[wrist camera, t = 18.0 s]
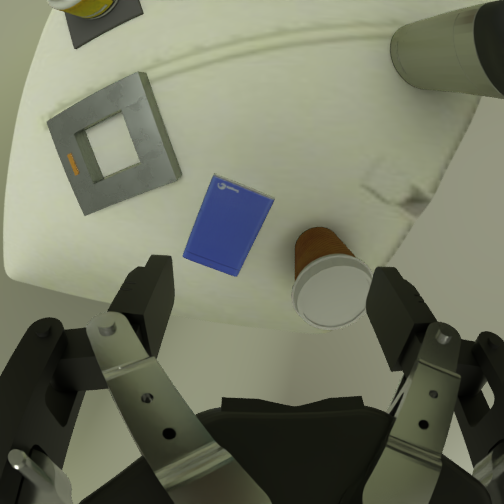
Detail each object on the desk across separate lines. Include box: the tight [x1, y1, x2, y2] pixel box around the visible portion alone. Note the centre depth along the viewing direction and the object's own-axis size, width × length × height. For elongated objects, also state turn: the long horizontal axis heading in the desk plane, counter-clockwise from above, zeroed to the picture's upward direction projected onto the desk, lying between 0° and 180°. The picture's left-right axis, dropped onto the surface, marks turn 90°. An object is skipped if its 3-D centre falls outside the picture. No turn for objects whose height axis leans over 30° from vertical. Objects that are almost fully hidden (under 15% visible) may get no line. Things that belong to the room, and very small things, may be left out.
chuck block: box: [47, 72, 182, 216], centre depth 35 cm, size 14×14×3 cm
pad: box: [65, 0, 143, 49], centre depth 26 cm, size 10×10×1 cm
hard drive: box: [183, 173, 274, 277], centre depth 41 cm, size 2×8×12 cm
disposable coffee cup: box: [291, 227, 373, 330], centre depth 38 cm, size 10×10×12 cm
